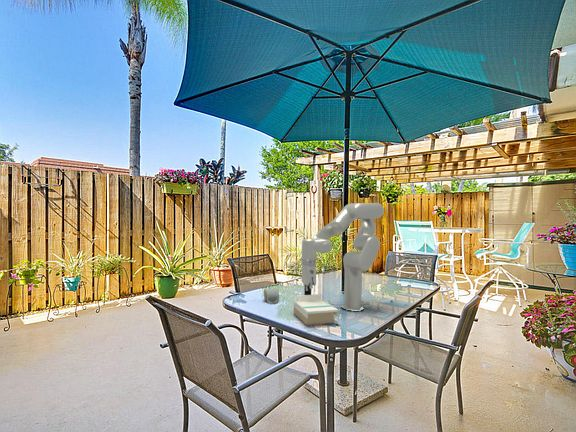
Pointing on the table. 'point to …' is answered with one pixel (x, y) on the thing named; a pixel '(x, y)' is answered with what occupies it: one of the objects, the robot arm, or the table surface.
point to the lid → (313, 305)
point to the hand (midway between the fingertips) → (307, 298)
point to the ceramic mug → (271, 295)
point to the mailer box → (315, 318)
